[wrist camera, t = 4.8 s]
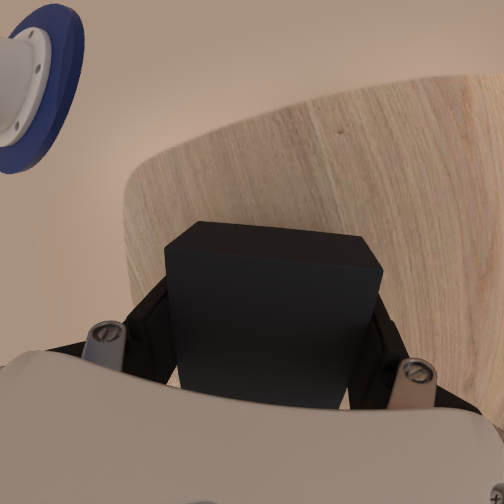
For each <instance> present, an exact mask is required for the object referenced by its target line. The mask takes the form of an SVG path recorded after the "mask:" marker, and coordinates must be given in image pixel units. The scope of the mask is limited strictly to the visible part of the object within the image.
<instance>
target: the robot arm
mask: <svg viewBox="0 0 504 504" xmlns="http://www.w3.org/2000/svg"><path fill="white" fill-rule="evenodd" d="M51 56H52V51H51V41H50V37H49V35H48V34H47V32H46V31H44V30H43V29H40V28H36V27H30V28H27V29H25V30H23V31H22V32H20V33H19V34H18V35H16V36H15V37H14V38H13V39H10V38H3V37H0V147H6V146H10V145H13V144H15V143H16V142H17V141H19V140H20V138H21V137H22V136H23V135H24V134H25V132H26V131H27V129H28V128H29V126H30V125H31V123H32V121H33V119H34V117H35V115H36V113H37V110H38V108H39V106H40V103H41V101H42V98H43V95H44V92H45V88H46V85H47V81H48V77H49V72H50V66H51ZM176 366H177V359H176V353H175V346H174V338H173V331H172V323H171V314H170V306H169V299H168V290H167V279H166V276H165V277H164V278H163V279H162V280H161V281H160V282H159V283H158V284H157V285H156V286H155V287H154V288H153V289H152V290H151V291H150V292H149V293H148V295H147V296H146V297H145V298H144V299H143V300H142V301H141V302H140V303H139V304H138V305H137V306H136V307H135V308H134V309H133V311H132V312H131V313H130V314H129V315H128V316H127V319H126V320H125V321H124V322H123V323H120V322H117V321H103V322H100V323H98V324H96V325H94V326H93V327H92V328H91V329H90V331H89V332H88V336H87V339H86V341H84V342H80V343H75V344H71V345H67V346H62V347H58V348H54V349H49V350H45V351H29V352H25V353H23V354H21V355H19V356H17V357H16V358H14V359H13V360H12V361H10V362H9V363H8V364H7V365H6V366H1V367H0V504H504V431H503V430H501V429H500V428H498V427H496V426H495V425H493V424H492V423H491V422H490V421H489V420H488V419H486V418H485V417H484V416H482V413H481V412H480V411H479V410H478V409H477V408H476V407H475V406H473V405H471V404H469V403H468V402H466V401H464V400H462V399H461V398H459V397H457V396H455V395H454V394H452V393H450V392H448V391H447V390H445V389H443V388H441V387H440V386H438V385H437V372H436V370H435V368H434V367H433V366H432V365H431V364H430V363H429V362H427V361H425V360H423V359H420V358H409V356H408V353H407V351H406V348H405V346H404V344H403V341H402V339H401V337H400V334H399V332H398V330H397V328H396V325H395V323H394V322H393V321H392V320H391V319H390V317H389V315H388V313H387V310H386V308H385V306H384V304H383V302H382V300H381V298H380V295H379V293H378V295H377V299H376V303H375V306H374V310H373V313H372V317H371V320H370V322H369V325H368V328H367V332H366V335H365V338H364V341H363V344H362V347H361V350H360V353H359V356H358V359H357V362H356V364H355V367H354V370H353V373H352V375H351V378H350V381H349V383H348V394H349V403H350V410H344V409H319V408H304V407H292V406H282V405H273V404H264V403H257V402H250V401H243V400H237V399H231V398H225V397H219V396H214V395H209V394H204V393H199V392H195V391H190V390H186V389H181V388H177V387H173V386H169V385H166V384H167V382H168V380H169V379H170V377H171V375H172V373H173V371H174V369H175V367H176Z"/></svg>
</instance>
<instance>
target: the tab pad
mask: <svg viewBox="0 0 504 504" xmlns="http://www.w3.org/2000/svg"><path fill="white" fill-rule="evenodd" d="M164 253H165V267H166V279H167V290H168V299H169V306H170V314H171V323H172V331H173V338H174V346H175V353H176V359H177V368H178V374H179V380H180V385H181V389H186V390H190V391H195V392H199V393H204V394H209V395H214V396H219V397H225V398H231V399H237V400H243V401H250V402H257V403H264V404H273V405H282V406H292V407H304V408H319V409H339V406H340V404H341V402H342V399H343V397H344V394H345V392H346V389H347V387H348V383H349V381H350V378H351V375H352V373H353V370H354V367H355V364H356V362H357V359H358V356H359V353H360V350H361V347H362V344H363V341H364V338H365V335H366V332H367V328H368V325H369V322H370V320H371V317H372V313H373V310H374V306H375V303H376V299H377V295H378V291H379V288H380V284H381V280H382V276H383V268H382V267H381V265H380V264H379V262H378V260H377V259H376V257H375V256H374V254H373V253H372V251H371V250H370V248H369V247H368V245H367V244H366V242H365V241H364V239H363V238H362V237H361V236H352V235H343V234H334V233H325V232H315V231H306V230H296V229H285V228H275V227H264V226H253V225H242V224H230V223H218V222H205V221H198V222H196V223H195V224H194V225H192V226H191V227H190V228H189V229H187V230H186V231H185V232H183V233H182V234H181V235H180V236H178V237H177V238H176V239H175V240H173V241H172V242H171V243H170V244H168V245H167V246H166V247H165V248H164Z"/></svg>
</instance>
